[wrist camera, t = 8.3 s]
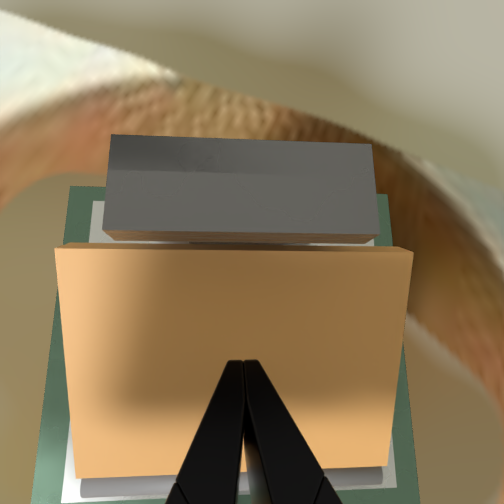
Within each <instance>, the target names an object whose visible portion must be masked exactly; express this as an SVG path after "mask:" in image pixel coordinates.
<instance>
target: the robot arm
mask: <svg viewBox="0 0 504 504" xmlns="http://www.w3.org/2000/svg"><path fill="white" fill-rule="evenodd" d="M243 443H244V453H245V460H246V468H247V475H248V482H249V490H250V497H251V504H343V503H342V501H341V499H340V498H339V496H338V495H337V493H336V491H335V490H334V488H333V486H332V484H331V483H330V481H329V479H328V478H327V476H324V475H325V473H324V471H323V469H322V468H321V466H320V464H319V463H318V461H317V459H316V457H315V456H314V454H313V452H312V451H311V449H310V447H309V445H308V444H307V442H306V440H305V439H304V437H303V435H302V433H301V432H300V430H299V428H298V427H297V425H296V423H295V421H294V420H293V418H292V416H291V415H290V413H289V411H288V409H287V408H286V406H285V404H284V403H283V401H282V399H281V398H280V396H279V394H278V392H277V391H276V389H275V387H274V386H273V384H272V382H271V380H270V379H269V377H268V375H267V374H266V372H265V370H264V368H263V367H262V365H261V363H260V362H259V361H258V360H257V359H246V360H244V361H242V360H228V361H227V363H226V365H225V368H224V370H223V372H222V374H221V377H220V379H219V381H218V384H217V386H216V388H215V390H214V393H213V395H212V397H211V399H210V402H209V404H208V406H207V409H206V411H205V413H204V415H203V418H202V420H201V422H200V425H199V427H198V429H197V431H196V434H195V436H194V438H193V441H192V443H191V445H190V447H189V450H188V452H187V454H186V457H185V459H184V461H183V463H182V466H181V468H180V470H179V473H178V475H177V477H176V479H175V482H176V483H174V484H173V486H172V488H171V490H170V493H169V495H168V497H167V499H166V502H165V504H238V494H239V483H240V472H241V461H242V449H243Z"/></svg>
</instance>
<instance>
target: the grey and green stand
mask: <svg viewBox="0 0 504 504" xmlns="http://www.w3.org/2000/svg"><path fill="white" fill-rule="evenodd" d="M70 242H72V243H152V244H232V245H312V246H393V242H392V233H391V223H390V214H389V205H388V195H387V194H376V185H375V175H374V165H373V154H372V144H356V143H329V142H303V141H276V140H249V139H222V138H195V137H169V136H142V135H115V134H111V142H110V152H109V162H108V173H107V183H106V187H85V186H84V187H82V186H80V187H79V186H70V192H69V201H68V208H67V216H66V224H65V233H64V240H63V245H65V244H67V243H70ZM415 459H416V458H415V449H414V440H413V430H412V421H411V411H410V402H409V393H408V384H407V374H406V365H405V355H404V347H403V343H402V351H401V359H400V367H399V375H398V383H397V391H396V399H395V407H394V415H393V423H392V431H391V439H390V447H389V455H388V463H387V466H382V471H383V482H382V484H380V485H358V486H336V487H333V488H334V490H335V491H336V493H337V495H338V496H339V498H340V499H341V501H342V503H343V504H420V496H419V487H418V477H417V468H416V460H415ZM80 485H81V479H76V476H75V465H74V454H73V443H72V432H71V421H70V411H69V400H68V389H67V378H66V367H65V356H64V345H63V334H62V324H61V313H60V302H59V291H58V289H57V297H56V305H55V313H54V321H53V330H52V338H51V345H50V353H49V362H48V369H47V378H46V386H45V393H44V402H43V410H42V418H41V426H40V435H39V443H38V451H37V459H36V466H35V474H34V483H33V490H32V498H31V504H165V502H166V499H167V497H168V495H169V494H160V495H138V496H116V497H94V498H81V496H80ZM238 504H251V497H250V490H248V491H239V494H238Z"/></svg>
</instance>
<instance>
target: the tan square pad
mask: <svg viewBox="0 0 504 504" xmlns="http://www.w3.org/2000/svg"><path fill="white" fill-rule="evenodd" d="M413 255H414V252H411V251H409V250H406V249H403V248H401V247H393V246H312V245H232V244H152V243H72V242H70V243H67V244H65V245H62V246H59V247H57V248H55V257H56V269H57V280H58V291H59V302H60V313H61V324H62V334H63V345H64V356H65V367H66V378H67V389H68V400H69V411H70V421H71V432H72V443H73V454H74V465H75V476H76V479H81V485H80V496H81V498H94V497H116V496H138V495H160V494H169V493H170V490H171V488H172V486H173V484H174V483H176V482H175V479H176V477H177V475H178V473H179V470H180V468H181V466H182V463H183V461H184V459H185V457H186V454H187V452H188V450H189V447H190V445H191V443H192V441H193V438H194V436H195V434H196V431H197V429H198V427H199V425H200V422H201V420H202V418H203V415H204V413H205V411H206V409H207V406H208V404H209V402H210V399H211V397H212V395H213V393H214V390H215V388H216V386H217V384H218V381H219V379H220V377H221V374H222V372H223V370H224V368H225V365H226V363H227V361H228V360H242V361H244V360H246V359H257V360H258V361H259V362H260V363H261V365H262V367H263V368H264V370H265V372H266V374H267V375H268V377H269V379H270V380H271V382H272V384H273V386H274V387H275V389H276V391H277V392H278V394H279V396H280V398H281V399H282V401H283V403H284V404H285V406H286V408H287V409H288V411H289V413H290V415H291V416H292V418H293V420H294V421H295V423H296V425H297V427H298V428H299V430H300V432H301V433H302V435H303V437H304V439H305V440H306V442H307V444H308V445H309V447H310V449H311V451H312V452H313V454H314V456H315V457H316V459H317V461H318V463H319V464H320V466H321V468H322V469H323V471H324V473H325V475H324V476H327V478H328V479H329V481H330V483H331V484H332V486H333V487H336V486H358V485H380V484H382V482H383V471H382V466H387V463H388V455H389V447H390V439H391V431H392V423H393V415H394V407H395V399H396V391H397V383H398V375H399V367H400V359H401V351H402V343H403V335H404V327H405V319H406V311H407V303H408V295H409V287H410V279H411V271H412V263H413ZM248 490H249V482H248V475H247V468H246V460H245V453H244V443H243V449H242V461H241V472H240V483H239V491H248Z"/></svg>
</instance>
